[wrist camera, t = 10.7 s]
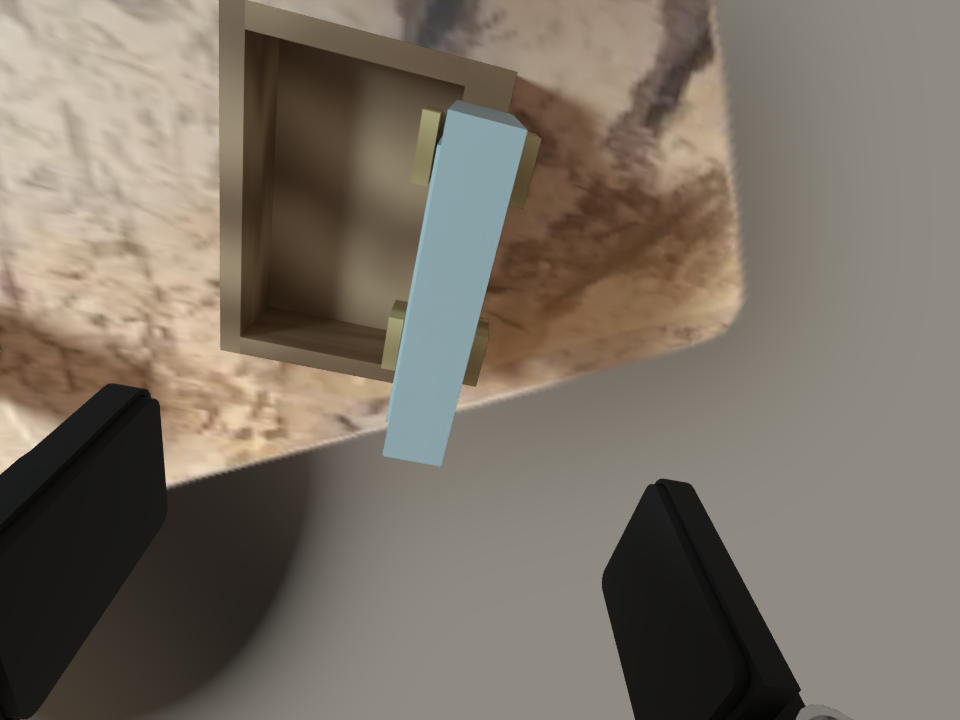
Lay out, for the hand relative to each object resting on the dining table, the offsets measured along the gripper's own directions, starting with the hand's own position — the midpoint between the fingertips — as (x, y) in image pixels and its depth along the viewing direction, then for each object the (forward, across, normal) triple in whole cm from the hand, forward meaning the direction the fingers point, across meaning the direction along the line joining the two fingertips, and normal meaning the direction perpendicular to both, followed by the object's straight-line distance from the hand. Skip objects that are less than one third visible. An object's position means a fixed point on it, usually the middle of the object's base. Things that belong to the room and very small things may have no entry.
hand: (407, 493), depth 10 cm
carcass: (+22, +4, 0) cm, 22 cm away
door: (+17, 0, 0) cm, 17 cm away
